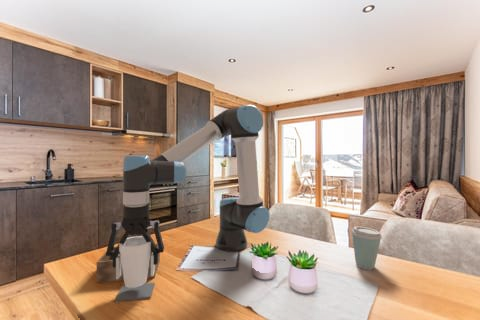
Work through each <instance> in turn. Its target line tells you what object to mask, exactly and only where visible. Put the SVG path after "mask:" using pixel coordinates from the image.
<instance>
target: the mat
mask: <svg viewBox="0 0 480 320" xmlns="http://www.w3.org/2000/svg"><path fill="white" fill-rule="evenodd" d="M155 285H156V283H155V282H148V283H147V282H146V283H145V284H143V285H141V286H139V287H135V288H129V287H126V286H125V284H124V285H122V286H121V287H120V289H119V291H118V293H117V295H116V297H115V299H114V303H119V302H129V301H137V300H149V299H151V298H152V295H153V292H154V291H153V290H154V288H155Z"/></svg>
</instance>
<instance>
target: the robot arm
mask: <svg viewBox="0 0 480 320" xmlns="http://www.w3.org/2000/svg"><path fill="white" fill-rule="evenodd" d="M263 126H264V117H263V114H262V111H261V110H260V109H258V107H257V106H256V105H252V104H244V105H243V104H242V105H240V106H236V107H230V108H228V109H225V110H223V111H221V112H220V113H219V114H217V115H216V116H214V117H213V118H212V119H210V120H209V121H206V124H205V126H203V127H202V128H200V129H198V130H197V131H195V132H194V133H192V134H191V135H189V136H187V137H186V138H184V139H182V140H181V141H180V142H179V143H176V144H174V146H172V147H170V148H169V149H167V150H165V151H164V152H163V153H161V154H159V155H158V156H156V157H155V158H154V157H153V159H150V156H149V155H145V154H144V155H141V154H140V155H139V154H138V155H134V154H133V155H129V154H128V155H125V157H124V158H123V164H122V165H123V166H122V174H123V175H122V177H123V178H122V182H123V183H122V185H123V186H122V187H123V188H122V189H123V190H122V204H123V205H124V206H122V221H121V222H118V221H115V222H113V223H112V224H111V226H110V227H111V234H110V237H109V241H108V244H107V248H106V251H105V252H106V256H111V257H112V258H113V268H115V267H116V279H119V278H120V276H121V256H120V254H119V243H122V244H123V245H124V243H125V241H126V239H127V238H129V236H134V235H137V236H143V237H144V238H145V240H146V242H151V251H152V254H151V276H153V275H154V272H155V264H157V263H158V254H159V253H160V254H161V253H163V252H164V250H165V245H164V241H163V237H162V234H161V231H160V230H161V229H160V222H161V221H160V220H159V219H157V220H151V219H150V205H149V203H150V185H164V184H165V185H166V184H179V183H180V184H181V183H183V182H184V181H185V179H186V176H187V169H186V166H185V165H186V164H184V163H185V162H186V161H187V160H189V159H190V158H192V157H193V156H194V155H196V154H198V153H199V152H200V151H202V150H203V149H205V148H206V147H208V146H209V145H210V144H212V143H214V142H215V141H220V140H222V139H223V138H225V137H227V136H230V138H231V140H232V141H233V142H234V143H235V144H234V145H235V154H236V156H235V157H236V169H237V179H238V197H224V198H222V199H221V200H220V202H219V231H218V234H217V237H216V240H215V247H216V248H217V249H219V250H222V251H225V252H236V251H241V250H244V249H246V248H247V246H248V240H247V236H246V233H245V231H246V232H249V233H252V234H259V233H261V232H263V231H264V230H265V229H266V227H267V226H268V224H269V221H270V216H271V215H270V211H269V209H268V208H267V207H266V206H264V199H263V198H262V197H261V196H260V191H259V188H260V187H259V177H258V176H259V175H258V174H259V173H258V161H257V145H256V141H257V140H258V138H259V136H260V135H259V132H260V131H261V130H262V128H263ZM149 226H151V228H152V229H153V232H154V235H155V236H154V237H155V240H156V242H157V243H156V242H155V241H154V239H153V237H152V236H151V234H150V232H149V230H148V227H149ZM121 228H122V229H123V230H124V231H125V232H124V233H123V235H122V237H121V239H120V241H119V243H118V245H117V246H116V247H117V248H116V250H115V251H113V248H114V247H115V243H116V239H117V238H118V233H119V230H120V229H121ZM156 244H158V248H157V246H156ZM118 254H119V255H118Z"/></svg>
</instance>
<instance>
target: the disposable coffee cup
mask: <svg viewBox="0 0 480 320" xmlns="http://www.w3.org/2000/svg"><path fill="white" fill-rule="evenodd" d="M351 234H352V235H351V236H352V241H353V242H352V243H353V244H352V245H353V251H354V258H355V259H354V260H355V264H356V266H357V267H359V268H360V269H364V270H367V271H369V270H371V271H372V270H374V269H375V267H376V263H377V257H378V252H379V247H380V243H381V239H382V233H381V232H380V231H378V230H376V229H373V228H370V227H365V226H353V228H352V230H351Z"/></svg>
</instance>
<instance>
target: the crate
mask: <svg viewBox="0 0 480 320" xmlns="http://www.w3.org/2000/svg"><path fill="white" fill-rule="evenodd" d="M155 244H156V246H157V248H158V244H157V243H155ZM116 248H117V246H114V248H113V251H115V250H116ZM119 254H120V252H119ZM119 254H118V255H119ZM151 254H152V251H151V253H150V260H149V267H148V274H147V279H155V278H156V274H157V271H158V268H159V265H160V262H161V261H160V259H161V258H160V257H161V253H159V254H158V263H157V264H155V272H154V275H153V276H151ZM121 281H123V282H124V277H123V270H122V263H121V276H120V278H119V279H116V267H115V268H113V258H112V257H111V256H106V251H105V252H104V253H103V255H102V256H101V257H100V258H99V259H98V260H97V261H96V283H97V284H99V283H100V284H101V283H107V282H108V283H109V282H110V283H111V282H121Z"/></svg>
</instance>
